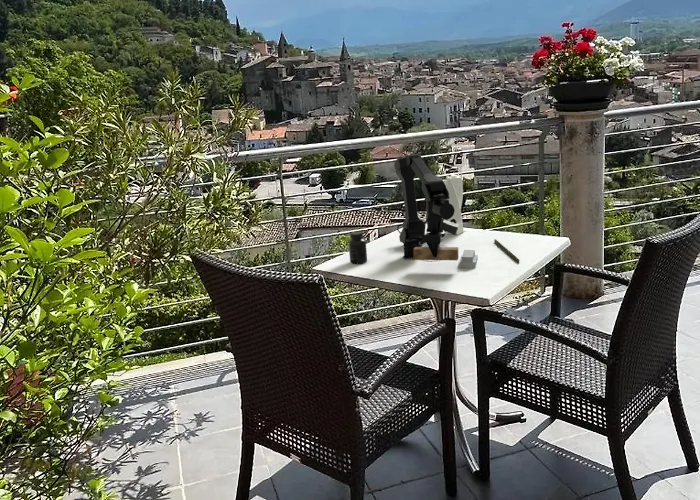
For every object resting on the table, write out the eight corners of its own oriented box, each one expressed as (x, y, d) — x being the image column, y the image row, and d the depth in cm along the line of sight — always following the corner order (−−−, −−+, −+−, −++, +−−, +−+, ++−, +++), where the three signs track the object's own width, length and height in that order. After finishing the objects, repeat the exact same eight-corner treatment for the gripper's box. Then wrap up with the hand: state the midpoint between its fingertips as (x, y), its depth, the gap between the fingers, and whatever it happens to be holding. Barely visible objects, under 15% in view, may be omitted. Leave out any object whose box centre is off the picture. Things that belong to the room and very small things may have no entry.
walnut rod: (413, 259, 250) (413, 249, 249) (415, 257, 253) (415, 246, 252) (457, 260, 246) (457, 249, 245) (458, 257, 249) (458, 247, 248)
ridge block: (459, 267, 252) (458, 257, 251) (461, 259, 262) (461, 249, 260) (475, 267, 251) (475, 257, 250) (477, 259, 260) (477, 249, 259)
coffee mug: (430, 241, 290) (429, 219, 288) (421, 247, 283) (420, 223, 281) (406, 239, 296) (405, 217, 294) (396, 244, 289) (395, 221, 287)
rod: (519, 264, 253) (519, 259, 252) (517, 264, 253) (517, 259, 252) (495, 243, 283) (495, 238, 282) (493, 243, 283) (493, 238, 282)
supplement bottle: (358, 258, 272) (356, 229, 269) (370, 261, 267) (369, 232, 264) (346, 263, 268) (344, 233, 264) (358, 265, 263) (356, 235, 260)
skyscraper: (468, 232, 303) (467, 170, 296) (459, 236, 297) (458, 173, 290) (451, 230, 308) (450, 169, 301) (442, 234, 302) (441, 172, 295)
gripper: (454, 220, 234) (455, 263, 238) (459, 208, 251) (460, 248, 256) (422, 220, 237) (423, 262, 241) (429, 208, 254) (431, 248, 258)
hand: (436, 255), depth 249 cm, fingers closed on walnut rod, 3 cm apart
